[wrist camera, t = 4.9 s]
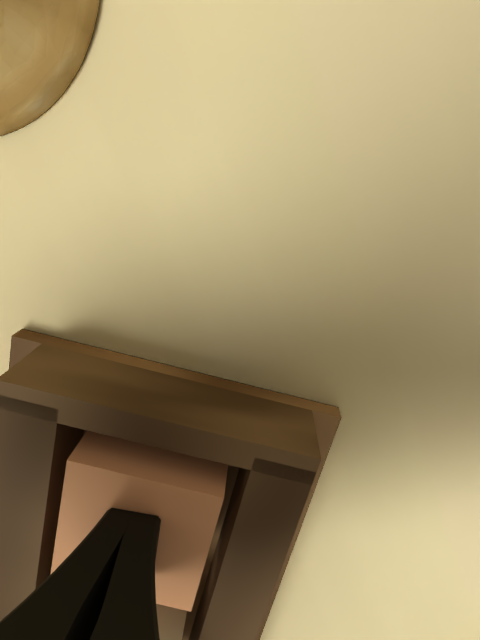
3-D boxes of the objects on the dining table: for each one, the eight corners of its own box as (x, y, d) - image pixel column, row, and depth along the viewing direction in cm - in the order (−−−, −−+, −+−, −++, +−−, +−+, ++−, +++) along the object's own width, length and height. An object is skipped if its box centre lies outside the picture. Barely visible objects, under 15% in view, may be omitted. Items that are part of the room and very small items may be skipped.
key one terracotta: (231, 441, 14) (223, 501, 11) (202, 541, 15) (190, 615, 13) (101, 409, 14) (64, 462, 11) (84, 513, 15) (47, 582, 12)
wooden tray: (338, 407, 14) (356, 467, 11) (211, 758, 20) (201, 855, 17) (22, 329, 14) (-41, 370, 11) (-14, 707, 20) (-61, 798, 17)
